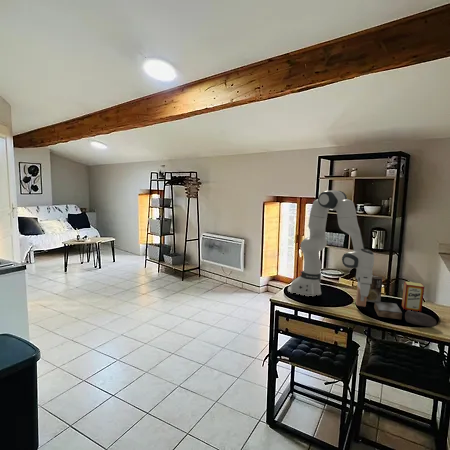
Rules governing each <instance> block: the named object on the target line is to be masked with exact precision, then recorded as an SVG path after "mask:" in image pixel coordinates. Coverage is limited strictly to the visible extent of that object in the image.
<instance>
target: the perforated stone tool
mask: <svg viewBox="0 0 450 450" xmlns="http://www.w3.org/2000/svg"><path fill="white" fill-rule="evenodd" d="M404 319H405V321H406V323H408V324H412V325H417V326H421V327H428V328H432V327H435V326H436V325H437V320H436V319H435V318H434V317H433V316H431V315H429V314H426V313H423V312H418V311H411V310H406V312H405V313H404Z"/></svg>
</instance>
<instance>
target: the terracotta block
mask: <svg viewBox="0 0 450 450" xmlns="http://www.w3.org/2000/svg"><path fill="white" fill-rule="evenodd" d="M360 297H361V294H360V289H359V287H358V286H357V289H356V297H355V304H356V306H358V307H364V308H365V307H367V306H366V305H367V301H366V299H367V297H364V301H361V300H360Z"/></svg>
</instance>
